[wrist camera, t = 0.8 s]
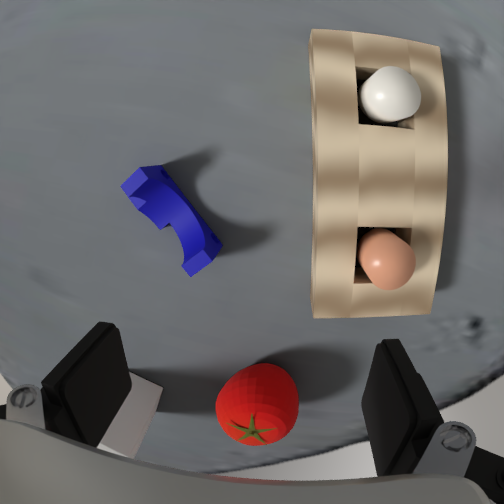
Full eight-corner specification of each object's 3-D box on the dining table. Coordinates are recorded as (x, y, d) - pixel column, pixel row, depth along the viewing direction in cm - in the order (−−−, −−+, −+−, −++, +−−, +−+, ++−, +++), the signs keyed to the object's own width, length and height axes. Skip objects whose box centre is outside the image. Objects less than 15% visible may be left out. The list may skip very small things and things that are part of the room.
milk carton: (123, 367, 44) (65, 452, 26) (163, 386, 44) (118, 480, 26) (118, 394, 46) (69, 473, 28) (155, 412, 46) (115, 498, 28)
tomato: (313, 369, 41) (319, 425, 30) (275, 413, 44) (271, 467, 34) (246, 337, 40) (234, 392, 30) (213, 387, 43) (197, 440, 33)
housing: (308, 45, 29) (311, 28, 24) (421, 58, 27) (439, 46, 23) (310, 298, 38) (313, 318, 33) (415, 296, 36) (430, 313, 31)
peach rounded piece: (357, 227, 31) (369, 239, 27) (401, 228, 31) (418, 240, 26) (354, 272, 33) (365, 290, 28) (396, 272, 32) (412, 289, 28)
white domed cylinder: (356, 75, 27) (368, 62, 22) (401, 81, 26) (418, 70, 22) (358, 121, 28) (371, 115, 24) (403, 125, 28) (422, 121, 23)
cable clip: (135, 188, 36) (111, 195, 30) (161, 165, 35) (139, 167, 29) (195, 265, 38) (180, 284, 32) (223, 244, 37) (212, 261, 31)
